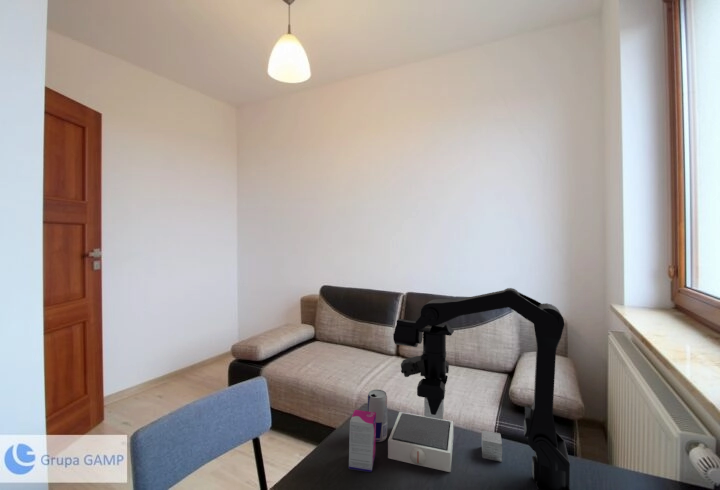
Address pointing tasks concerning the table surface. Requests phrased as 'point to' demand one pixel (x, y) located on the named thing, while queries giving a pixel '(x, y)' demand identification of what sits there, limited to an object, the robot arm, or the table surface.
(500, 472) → the table surface
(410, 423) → the pan
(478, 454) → the table surface
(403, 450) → the base
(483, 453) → the block
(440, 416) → the block
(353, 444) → the supplement box
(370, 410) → the energy drink
